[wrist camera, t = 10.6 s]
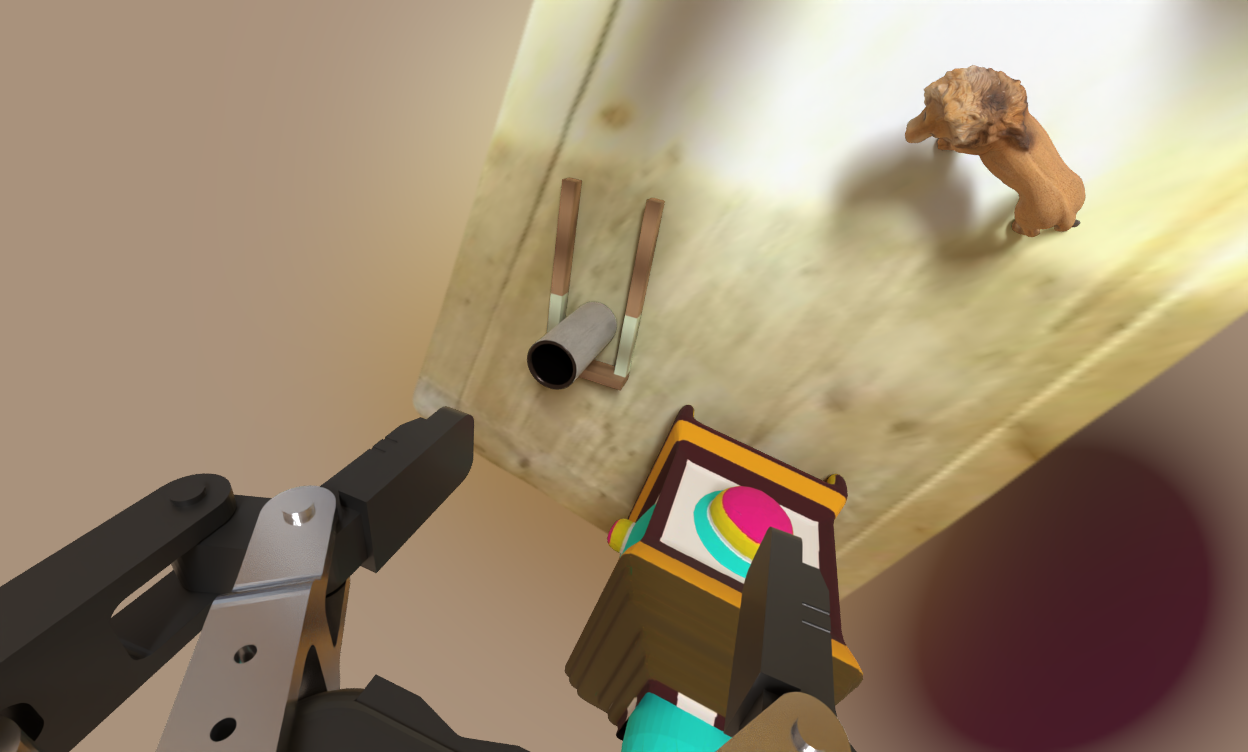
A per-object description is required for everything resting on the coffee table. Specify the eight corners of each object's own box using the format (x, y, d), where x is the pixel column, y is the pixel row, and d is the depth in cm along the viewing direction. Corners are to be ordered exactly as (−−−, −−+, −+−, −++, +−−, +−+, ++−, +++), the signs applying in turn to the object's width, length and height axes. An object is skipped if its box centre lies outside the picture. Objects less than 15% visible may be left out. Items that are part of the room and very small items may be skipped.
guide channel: (569, 177, 43) (557, 180, 41) (664, 201, 41) (657, 205, 39) (550, 354, 52) (539, 363, 50) (627, 379, 50) (620, 390, 48)
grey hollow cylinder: (585, 348, 50) (540, 394, 42) (568, 307, 49) (517, 347, 40) (624, 337, 48) (584, 384, 40) (607, 295, 47) (562, 334, 38)
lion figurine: (877, 128, 35) (898, 129, 27) (941, 52, 32) (985, 29, 24) (1038, 252, 35) (1104, 288, 27) (1116, 188, 32) (1214, 207, 25)
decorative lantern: (679, 383, 49) (545, 661, 24) (867, 470, 47) (945, 882, 21) (619, 512, 59) (482, 801, 34) (770, 588, 57) (745, 958, 32)
